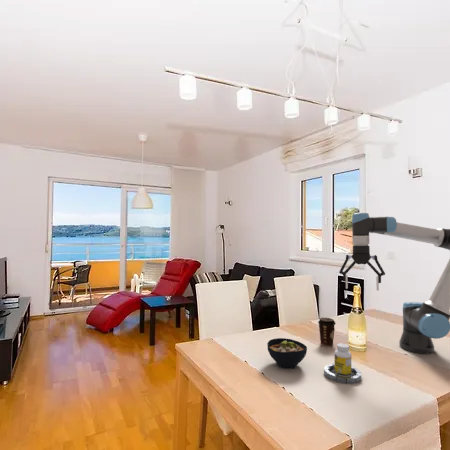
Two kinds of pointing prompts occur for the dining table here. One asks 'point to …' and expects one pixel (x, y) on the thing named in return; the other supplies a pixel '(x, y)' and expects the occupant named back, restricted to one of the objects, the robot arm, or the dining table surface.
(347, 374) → the pill bottle
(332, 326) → the coffee cup
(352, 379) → the ring seat
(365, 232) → the robot arm
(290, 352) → the bowl
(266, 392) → the dining table surface
